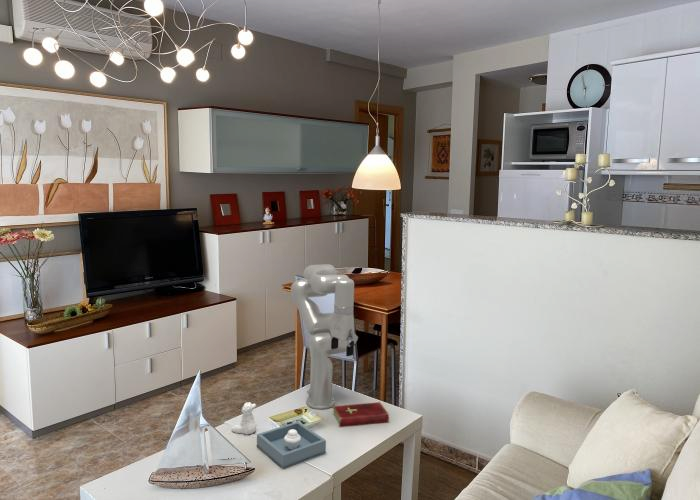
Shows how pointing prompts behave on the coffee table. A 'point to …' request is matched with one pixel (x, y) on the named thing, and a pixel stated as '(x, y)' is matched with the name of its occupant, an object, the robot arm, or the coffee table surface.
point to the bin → (285, 457)
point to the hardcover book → (360, 414)
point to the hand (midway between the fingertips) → (342, 351)
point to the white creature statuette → (246, 420)
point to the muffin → (292, 439)
